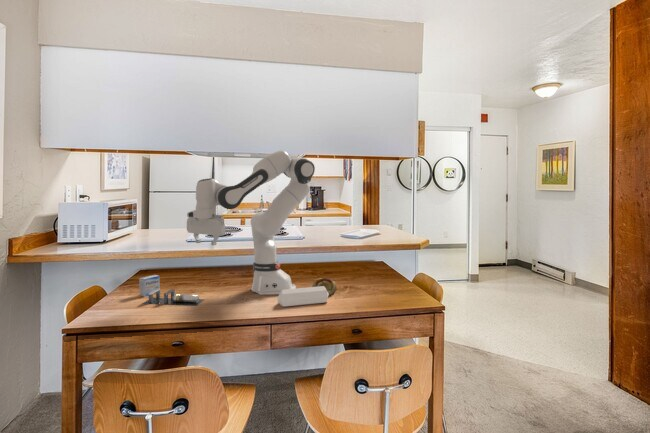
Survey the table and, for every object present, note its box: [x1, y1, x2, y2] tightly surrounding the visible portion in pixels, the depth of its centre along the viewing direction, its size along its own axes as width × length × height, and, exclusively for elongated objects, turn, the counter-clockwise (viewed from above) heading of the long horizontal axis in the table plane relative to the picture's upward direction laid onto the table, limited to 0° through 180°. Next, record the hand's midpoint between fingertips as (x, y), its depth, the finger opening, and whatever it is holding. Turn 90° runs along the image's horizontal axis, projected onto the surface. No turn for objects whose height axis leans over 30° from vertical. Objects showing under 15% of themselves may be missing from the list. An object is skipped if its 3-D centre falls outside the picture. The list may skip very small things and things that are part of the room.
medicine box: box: [138, 274, 161, 298], centre depth 172 cm, size 8×4×9 cm, turn 148°
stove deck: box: [141, 287, 205, 307], centre depth 161 cm, size 25×9×5 cm, turn 86°
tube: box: [172, 293, 200, 303], centre depth 161 cm, size 11×3×3 cm, turn 86°
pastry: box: [311, 277, 338, 296], centre depth 179 cm, size 14×12×8 cm
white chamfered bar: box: [277, 286, 330, 307], centre depth 162 cm, size 7×7×24 cm
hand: (205, 244), depth 164 cm, fingers open, 8 cm apart
